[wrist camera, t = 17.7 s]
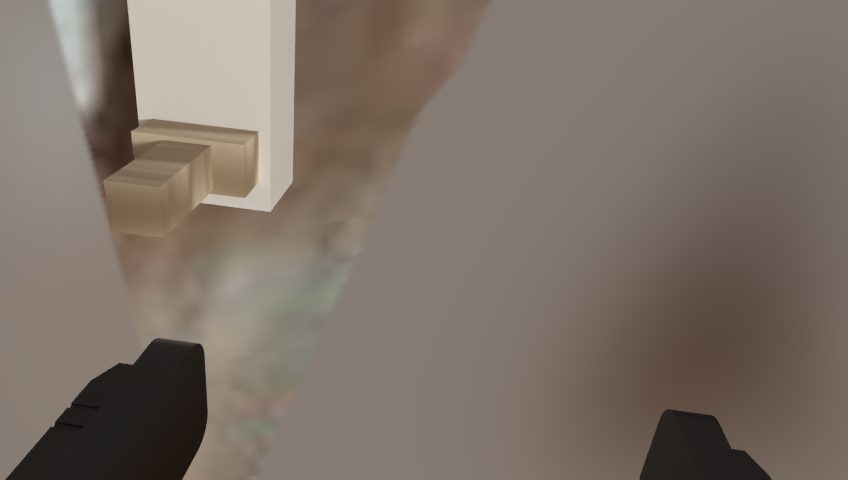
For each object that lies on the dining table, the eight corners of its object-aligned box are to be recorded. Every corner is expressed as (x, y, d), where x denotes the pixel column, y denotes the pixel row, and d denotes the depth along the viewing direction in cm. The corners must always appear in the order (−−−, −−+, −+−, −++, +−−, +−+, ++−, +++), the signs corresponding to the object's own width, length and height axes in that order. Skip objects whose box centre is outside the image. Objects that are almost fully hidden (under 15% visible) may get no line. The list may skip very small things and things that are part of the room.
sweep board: (158, -181, 34) (108, -198, 29) (298, -165, 34) (270, -179, 29) (180, 167, 42) (145, 195, 38) (292, 181, 42) (270, 211, 38)
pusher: (152, 118, 36) (63, 170, 28) (258, 131, 36) (198, 186, 28) (157, 169, 37) (73, 231, 30) (259, 181, 37) (201, 247, 29)
